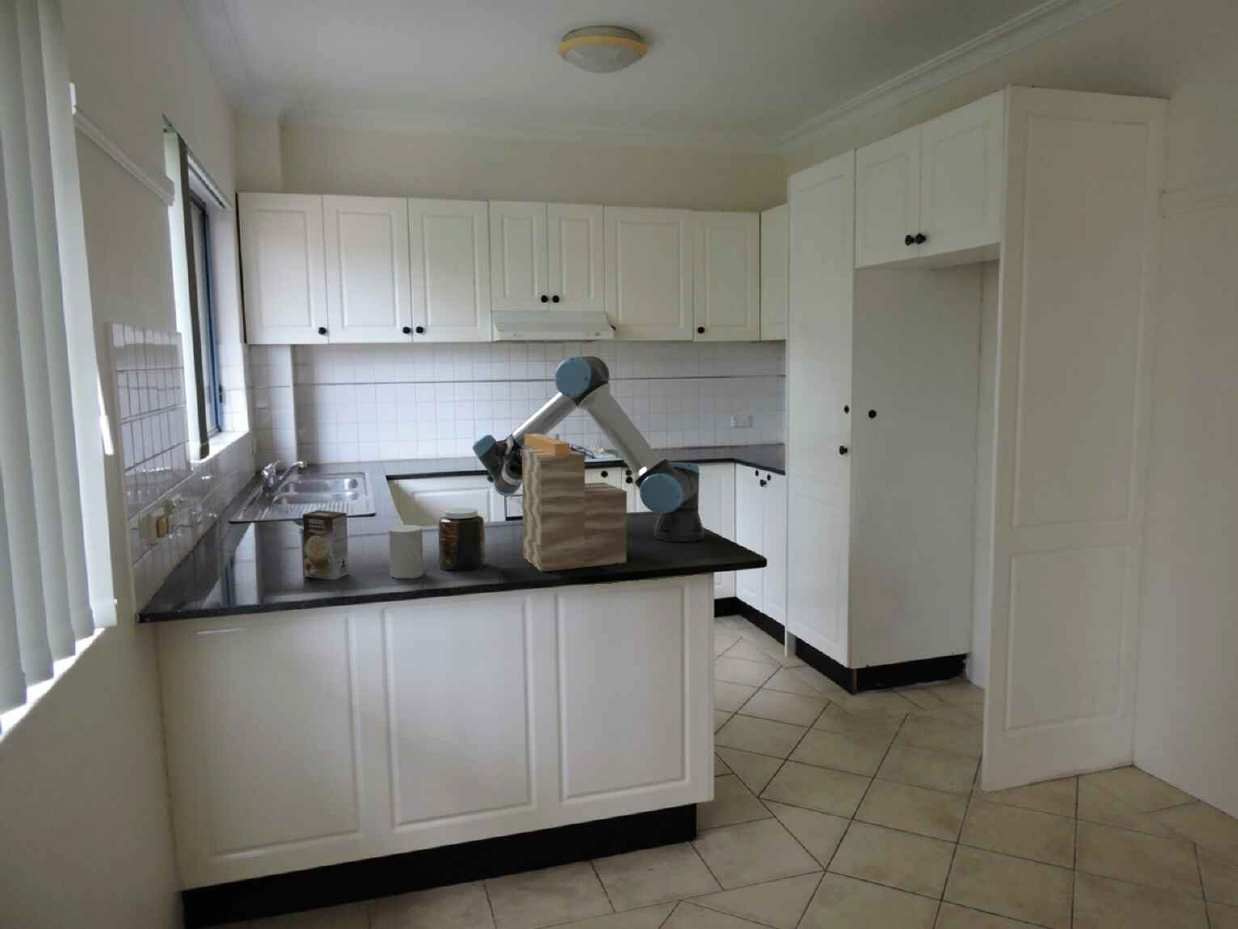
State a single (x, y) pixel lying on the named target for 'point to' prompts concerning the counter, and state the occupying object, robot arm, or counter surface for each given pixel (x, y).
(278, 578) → the counter surface
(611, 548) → the wooden stepped block
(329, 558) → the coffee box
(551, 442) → the orange box
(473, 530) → the jar
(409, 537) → the cup
